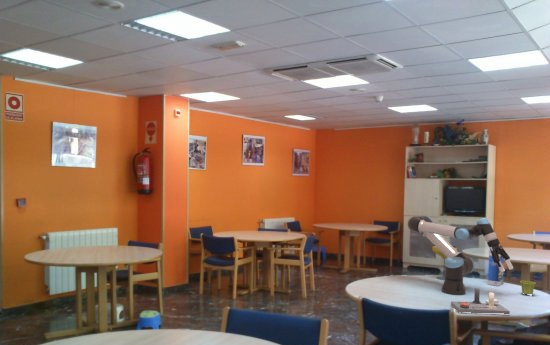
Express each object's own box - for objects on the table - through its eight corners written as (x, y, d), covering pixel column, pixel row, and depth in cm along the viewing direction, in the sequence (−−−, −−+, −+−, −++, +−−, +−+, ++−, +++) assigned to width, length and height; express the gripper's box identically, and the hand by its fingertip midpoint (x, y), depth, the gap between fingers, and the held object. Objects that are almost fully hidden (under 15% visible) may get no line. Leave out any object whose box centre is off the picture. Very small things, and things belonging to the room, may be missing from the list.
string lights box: (498, 286, 346) (499, 251, 346) (487, 284, 351) (488, 249, 351) (503, 283, 356) (504, 249, 356) (492, 282, 361) (493, 248, 361)
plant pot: (530, 293, 327) (530, 280, 327) (538, 296, 318) (538, 284, 318) (517, 293, 327) (517, 280, 327) (524, 296, 317) (525, 283, 317)
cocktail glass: (460, 279, 367) (461, 247, 367) (449, 282, 354) (450, 249, 354) (438, 275, 380) (439, 244, 380) (427, 278, 367) (428, 245, 368)
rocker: (488, 304, 282) (487, 301, 282) (485, 302, 286) (485, 299, 286) (498, 302, 281) (498, 299, 281) (496, 301, 285) (495, 297, 285)
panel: (459, 313, 273) (459, 304, 273) (451, 305, 289) (451, 297, 289) (509, 315, 271) (509, 307, 271) (498, 307, 287) (498, 300, 287)
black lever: (474, 304, 283) (474, 289, 283) (472, 302, 286) (472, 288, 286) (481, 304, 283) (481, 289, 283) (479, 303, 286) (479, 288, 286)
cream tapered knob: (488, 308, 274) (489, 293, 274) (486, 307, 277) (487, 292, 277) (495, 309, 273) (496, 293, 273) (493, 307, 276) (494, 292, 276)
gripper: (488, 239, 308) (504, 270, 300) (504, 236, 324) (520, 266, 317) (478, 243, 312) (494, 274, 305) (495, 240, 329) (509, 270, 321)
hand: (507, 270), depth 311 cm, fingers open, 13 cm apart
